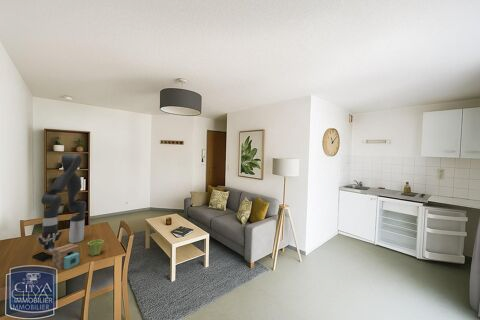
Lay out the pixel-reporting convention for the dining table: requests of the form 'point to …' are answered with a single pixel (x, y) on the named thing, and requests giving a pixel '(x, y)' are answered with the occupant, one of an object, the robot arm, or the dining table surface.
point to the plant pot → (95, 247)
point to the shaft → (51, 247)
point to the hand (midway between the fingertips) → (48, 248)
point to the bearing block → (63, 254)
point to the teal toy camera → (74, 263)
